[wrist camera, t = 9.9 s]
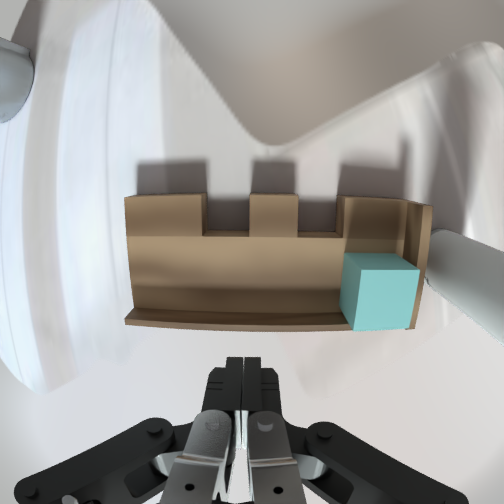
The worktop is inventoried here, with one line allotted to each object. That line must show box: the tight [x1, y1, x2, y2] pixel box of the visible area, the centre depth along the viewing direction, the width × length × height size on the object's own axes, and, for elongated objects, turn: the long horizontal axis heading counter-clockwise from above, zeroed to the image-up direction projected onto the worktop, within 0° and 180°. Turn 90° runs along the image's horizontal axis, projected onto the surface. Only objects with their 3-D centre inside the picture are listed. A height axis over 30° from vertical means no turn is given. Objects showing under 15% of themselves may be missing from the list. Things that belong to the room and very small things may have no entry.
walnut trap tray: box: [124, 193, 433, 332], centre depth 27 cm, size 11×26×6 cm, turn 90°
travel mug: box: [424, 228, 504, 346], centre depth 20 cm, size 6×7×20 cm
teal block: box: [339, 253, 420, 331], centre depth 25 cm, size 5×5×5 cm
